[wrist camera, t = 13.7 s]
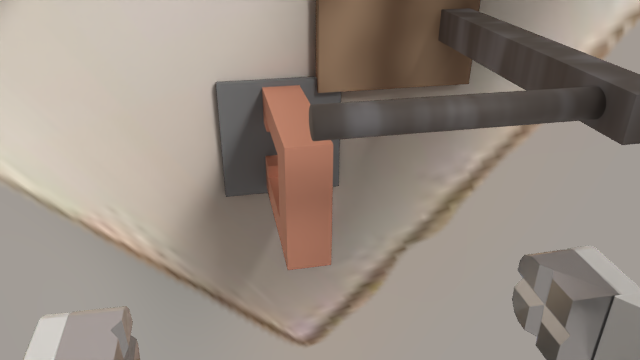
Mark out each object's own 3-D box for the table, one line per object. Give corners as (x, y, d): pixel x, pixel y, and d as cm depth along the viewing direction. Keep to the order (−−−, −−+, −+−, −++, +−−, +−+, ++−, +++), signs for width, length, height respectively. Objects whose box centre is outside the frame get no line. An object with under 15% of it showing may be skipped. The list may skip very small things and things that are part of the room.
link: (299, 85, 43) (333, 144, 32) (300, 184, 47) (331, 264, 37) (262, 87, 42) (284, 148, 32) (266, 187, 46) (287, 270, 36)
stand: (479, -46, 42) (729, 2, 22) (462, 79, 46) (657, 209, 27) (258, -43, 38) (324, 15, 19) (264, 91, 43) (322, 248, 24)
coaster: (339, 75, 44) (341, 77, 43) (336, 182, 48) (338, 186, 48) (215, 82, 42) (216, 84, 41) (225, 193, 46) (225, 196, 46)
